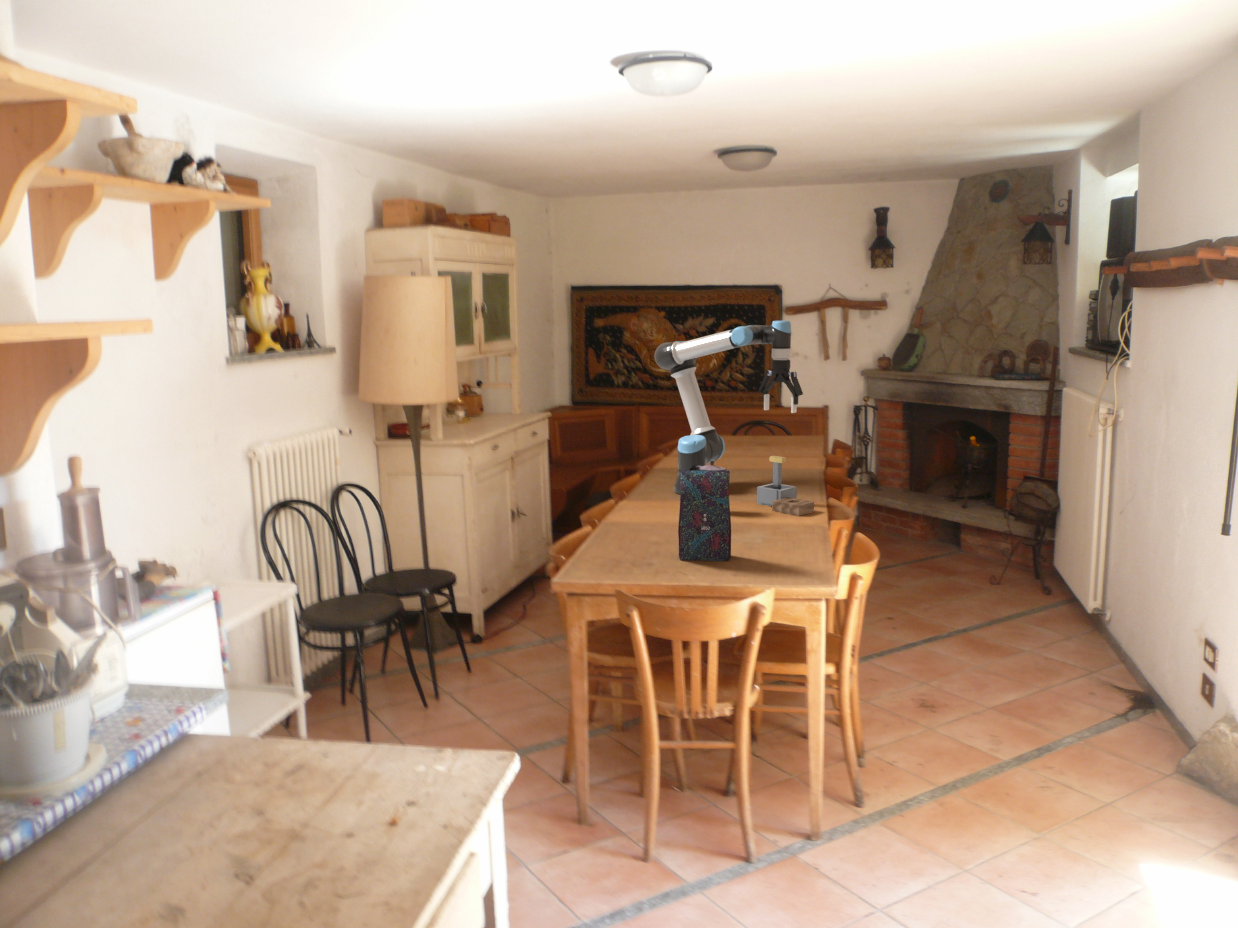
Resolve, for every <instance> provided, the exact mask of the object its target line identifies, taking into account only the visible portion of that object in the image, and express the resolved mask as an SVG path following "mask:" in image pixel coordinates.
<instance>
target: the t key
mask: <svg viewBox="0 0 1238 928" xmlns="http://www.w3.org/2000/svg"><path fill="white" fill-rule="evenodd" d="M786 459H787V458H786V456H785V457H784V456H777V455H770V456H769V462H770V463H771V462H772V483H773V489H778V490H780V489H781V484H782V477H783V476H782V475H783V474H782V470H783V469H782V468H783V467H782V466H783V465H782V464H783V463H786V461H787V460H786Z"/></svg>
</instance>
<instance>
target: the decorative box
mask: <svg viewBox="0 0 1238 928" xmlns="http://www.w3.org/2000/svg"><path fill="white" fill-rule="evenodd" d="M727 470H728V469H727ZM727 470H681V472H680V494H679V501H680V502H679V514H678V529H677V530H678V531H677V533H678V534H677V535H678V558H679V560H680V561H694V562H696V561H697V562H699V561H700V562H706V561H707V562H708V561H709V562H729V561H730V559H731V557H732V521H731V519H732V517H731V508H730V470H728V471H727Z"/></svg>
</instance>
